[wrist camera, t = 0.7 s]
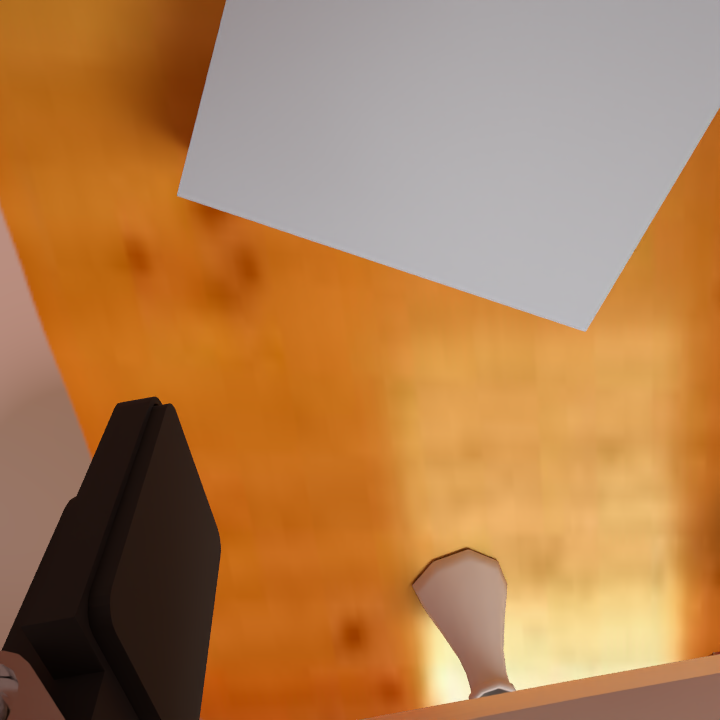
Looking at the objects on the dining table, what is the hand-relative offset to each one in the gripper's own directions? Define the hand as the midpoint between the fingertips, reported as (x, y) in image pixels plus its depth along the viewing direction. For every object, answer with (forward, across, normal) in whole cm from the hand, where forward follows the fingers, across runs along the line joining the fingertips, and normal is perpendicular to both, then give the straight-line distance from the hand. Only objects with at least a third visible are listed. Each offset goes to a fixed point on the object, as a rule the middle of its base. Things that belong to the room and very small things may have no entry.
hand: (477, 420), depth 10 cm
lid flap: (+19, -5, -3) cm, 20 cm away
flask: (+27, -3, +35) cm, 44 cm away
